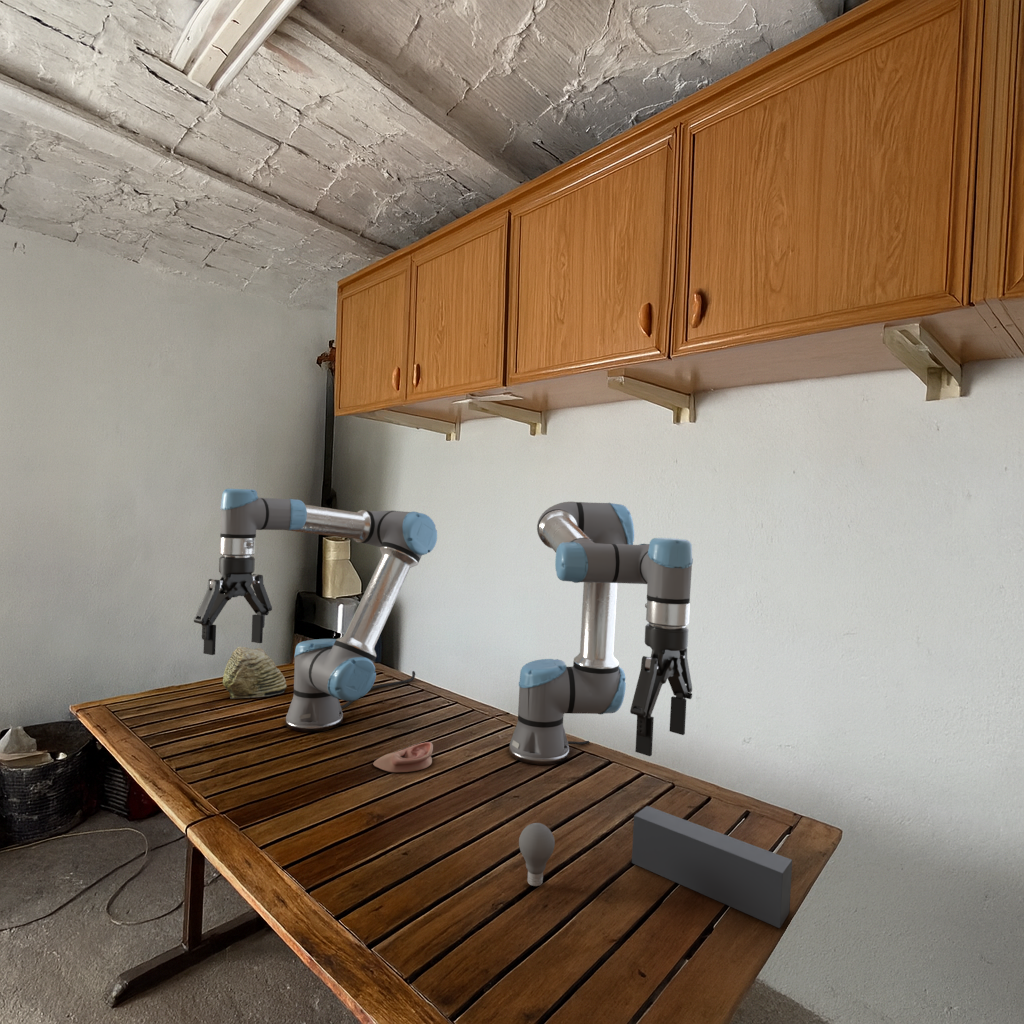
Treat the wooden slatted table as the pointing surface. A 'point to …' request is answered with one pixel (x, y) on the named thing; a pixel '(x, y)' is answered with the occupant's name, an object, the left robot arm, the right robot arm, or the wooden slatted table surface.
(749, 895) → the bar
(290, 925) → the wooden slatted table surface
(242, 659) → the fossil
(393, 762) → the anatomical model
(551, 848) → the light bulb
